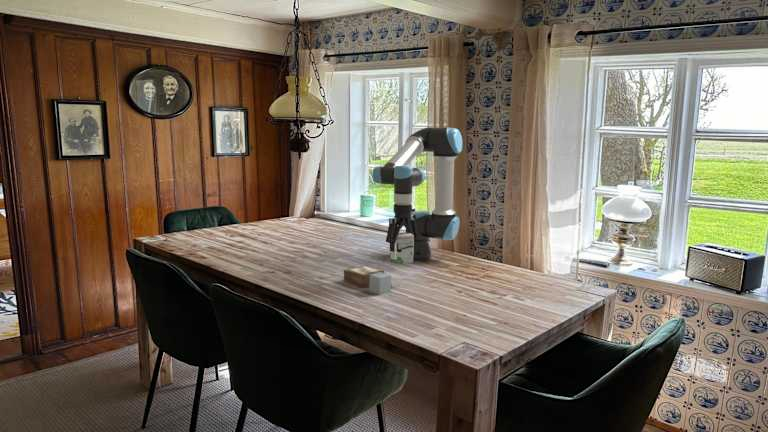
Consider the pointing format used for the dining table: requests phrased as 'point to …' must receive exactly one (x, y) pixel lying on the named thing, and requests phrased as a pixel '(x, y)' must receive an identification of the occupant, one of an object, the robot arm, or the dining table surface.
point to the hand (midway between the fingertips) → (402, 256)
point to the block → (380, 283)
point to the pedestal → (360, 275)
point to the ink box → (404, 248)
